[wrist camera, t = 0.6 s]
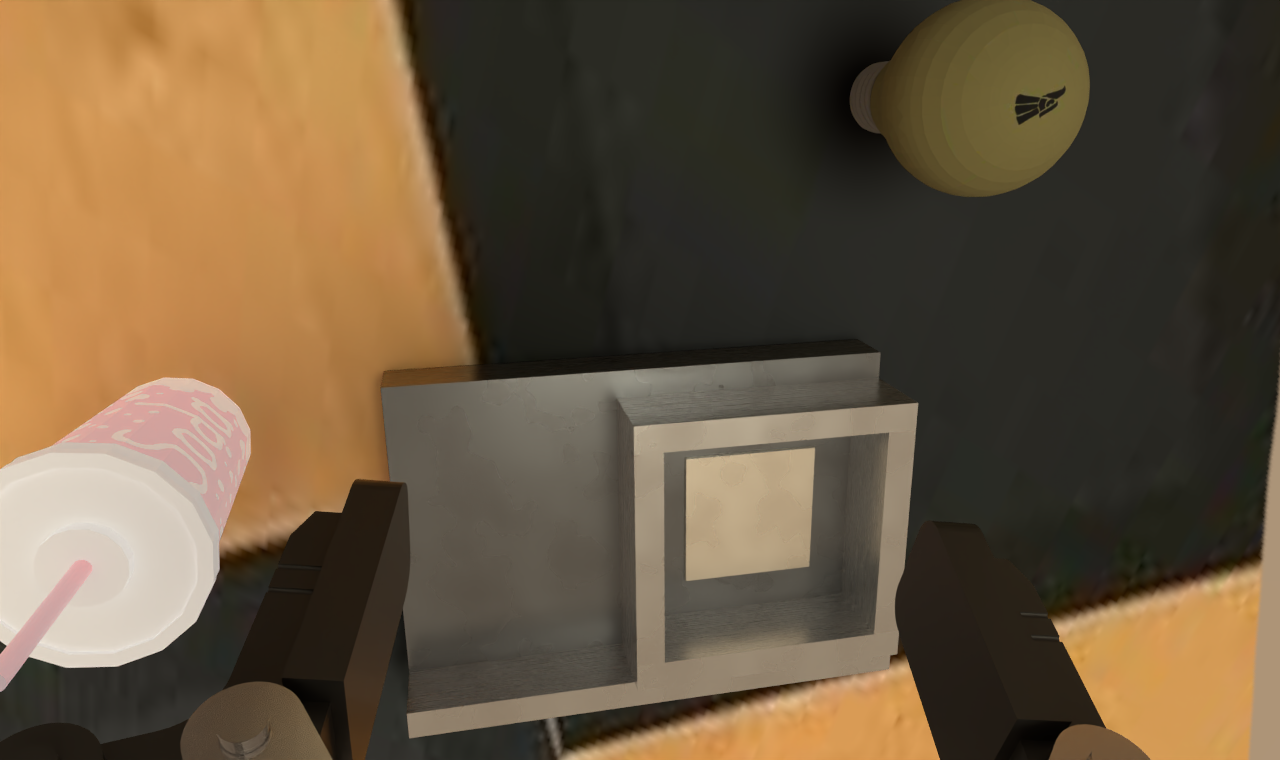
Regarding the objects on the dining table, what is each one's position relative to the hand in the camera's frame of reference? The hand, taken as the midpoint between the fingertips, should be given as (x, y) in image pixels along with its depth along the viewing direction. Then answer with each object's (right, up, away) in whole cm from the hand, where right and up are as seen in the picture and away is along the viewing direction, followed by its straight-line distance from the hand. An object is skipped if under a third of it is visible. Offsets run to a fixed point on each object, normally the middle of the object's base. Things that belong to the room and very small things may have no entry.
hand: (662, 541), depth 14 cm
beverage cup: (-16, 0, +17) cm, 24 cm away
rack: (-1, -2, +22) cm, 22 cm away
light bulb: (+8, +13, +19) cm, 24 cm away
